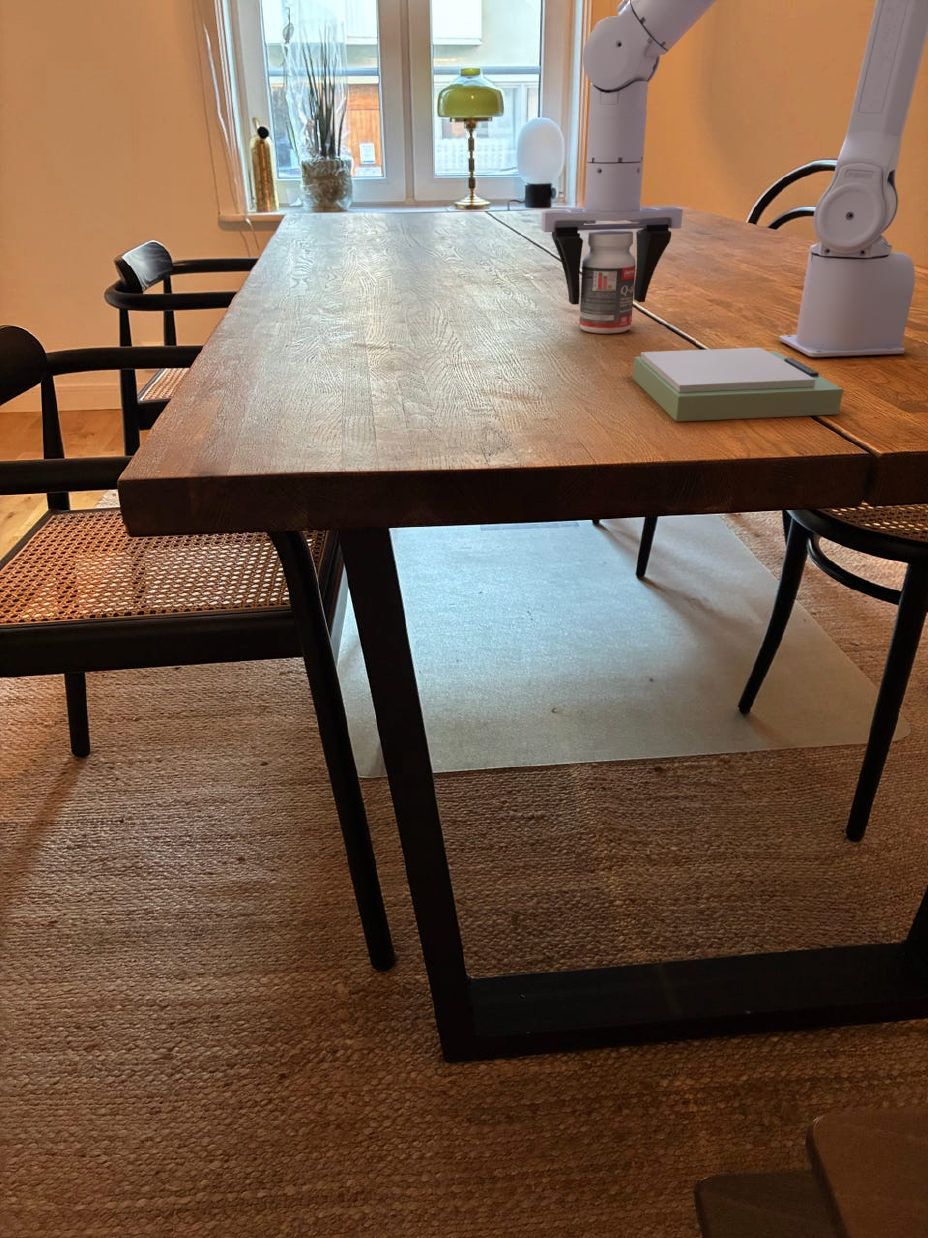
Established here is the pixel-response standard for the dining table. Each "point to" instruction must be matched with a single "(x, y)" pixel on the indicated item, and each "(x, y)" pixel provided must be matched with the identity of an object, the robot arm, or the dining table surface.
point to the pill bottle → (607, 282)
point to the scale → (734, 384)
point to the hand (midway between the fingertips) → (606, 301)
